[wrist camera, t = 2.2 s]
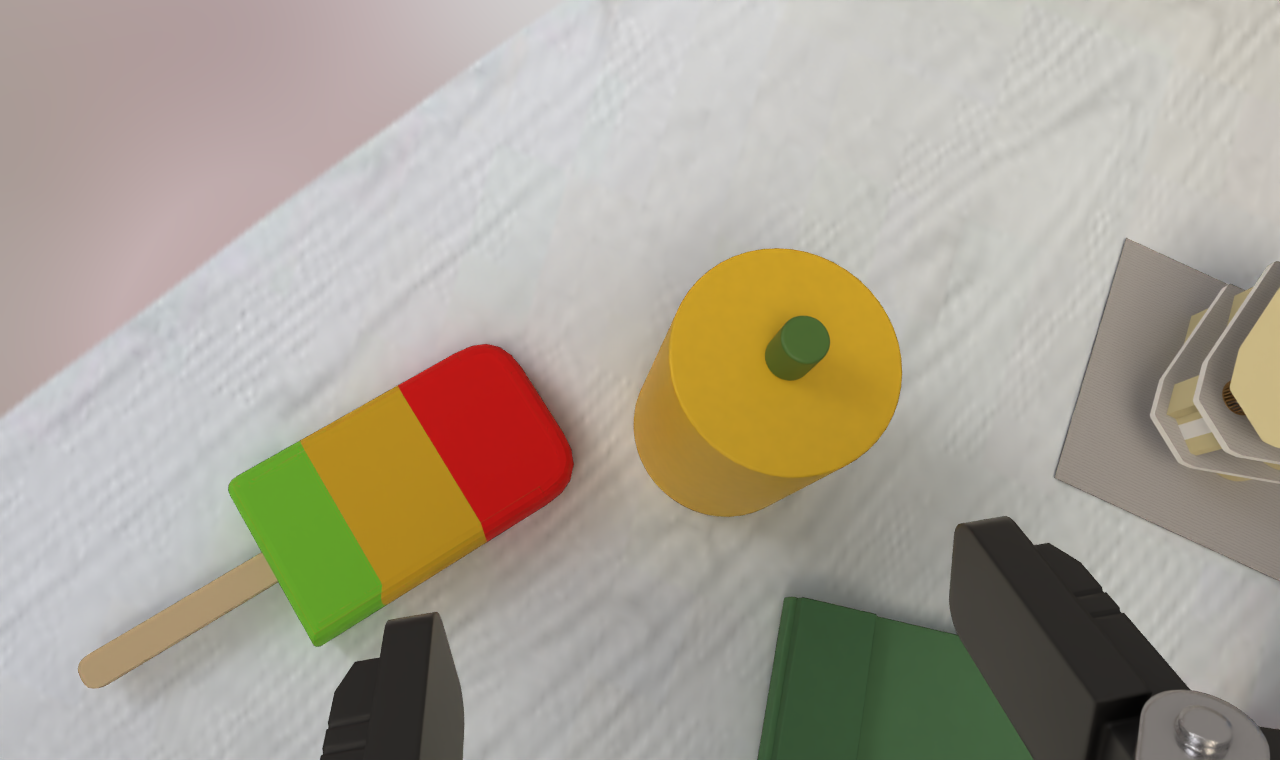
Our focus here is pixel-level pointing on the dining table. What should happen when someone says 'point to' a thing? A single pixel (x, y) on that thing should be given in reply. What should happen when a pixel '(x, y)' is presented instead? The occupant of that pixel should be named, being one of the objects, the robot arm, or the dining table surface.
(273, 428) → the dining table surface
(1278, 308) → the stacked layers on plate
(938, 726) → the green notebook
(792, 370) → the yellow cylinder with peg
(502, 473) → the popsicle
